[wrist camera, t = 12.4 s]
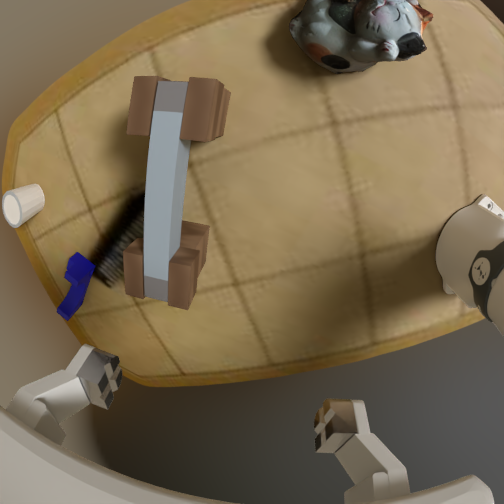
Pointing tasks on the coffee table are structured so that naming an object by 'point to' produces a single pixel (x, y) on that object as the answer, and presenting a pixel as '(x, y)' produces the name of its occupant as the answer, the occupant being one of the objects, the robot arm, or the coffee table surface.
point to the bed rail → (164, 187)
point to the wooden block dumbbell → (192, 234)
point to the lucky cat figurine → (359, 32)
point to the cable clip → (76, 284)
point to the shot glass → (22, 204)
